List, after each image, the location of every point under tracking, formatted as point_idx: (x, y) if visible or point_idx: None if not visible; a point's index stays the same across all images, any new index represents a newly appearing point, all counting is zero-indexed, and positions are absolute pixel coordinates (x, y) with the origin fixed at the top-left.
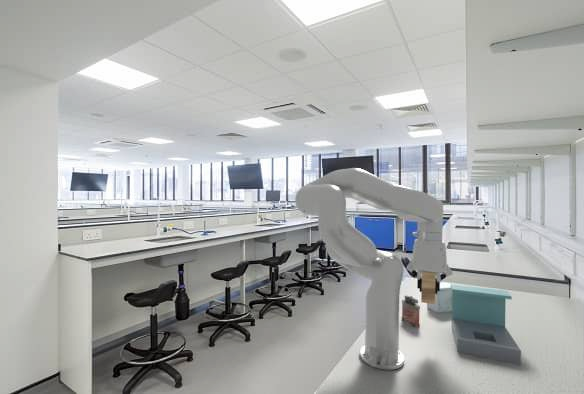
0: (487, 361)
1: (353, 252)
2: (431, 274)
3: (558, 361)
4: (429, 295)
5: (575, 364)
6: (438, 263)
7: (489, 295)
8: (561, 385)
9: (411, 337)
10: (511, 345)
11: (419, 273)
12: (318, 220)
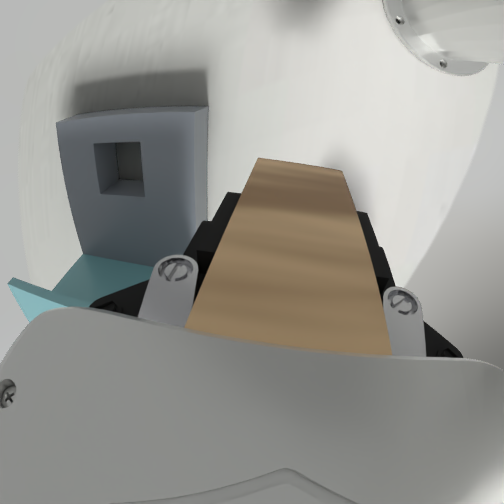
0: (138, 86)
1: None
2: (252, 322)
3: (34, 169)
4: (290, 183)
5: (20, 171)
6: (50, 477)
7: (47, 293)
8: (41, 69)
9: (344, 159)
10: (68, 141)
11: (405, 346)
12: None
